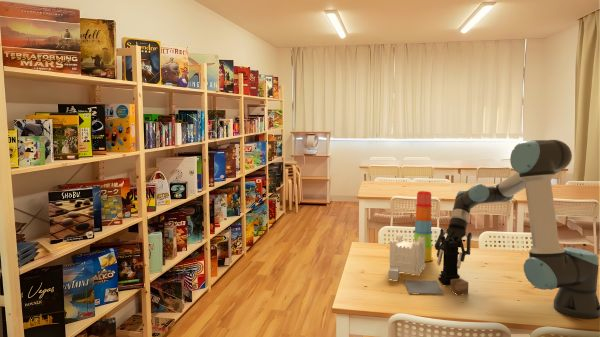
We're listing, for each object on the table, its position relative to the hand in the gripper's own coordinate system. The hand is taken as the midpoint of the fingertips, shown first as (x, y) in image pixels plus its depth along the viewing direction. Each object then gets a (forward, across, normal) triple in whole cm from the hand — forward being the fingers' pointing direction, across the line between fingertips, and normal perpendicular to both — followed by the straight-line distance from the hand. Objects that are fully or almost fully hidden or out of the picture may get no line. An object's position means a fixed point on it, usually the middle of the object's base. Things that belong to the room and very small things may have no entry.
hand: (448, 265), depth 192 cm
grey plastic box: (+10, +22, -2) cm, 25 cm away
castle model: (-1, +22, -13) cm, 25 cm away
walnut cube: (+10, -6, -2) cm, 12 cm away
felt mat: (+12, +8, 0) cm, 15 cm away
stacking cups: (-13, +20, -26) cm, 35 cm away
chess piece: (+4, 0, -9) cm, 9 cm away
